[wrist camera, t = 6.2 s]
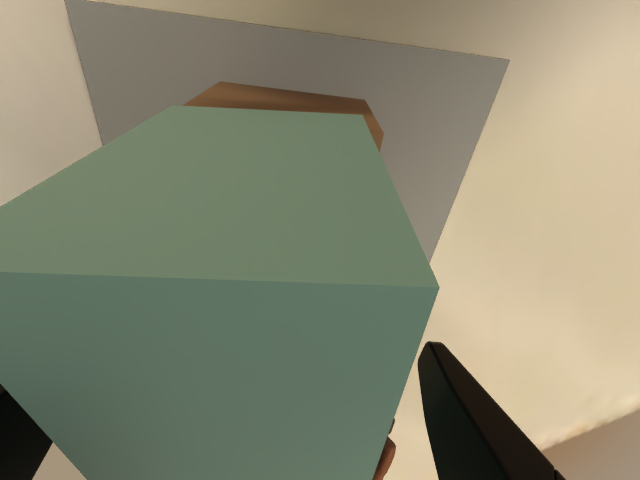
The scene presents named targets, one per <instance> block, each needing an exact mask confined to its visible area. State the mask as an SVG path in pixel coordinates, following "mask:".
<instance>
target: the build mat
mask: <svg viewBox="0 0 640 480" xmlns="http://www.w3.org/2000/svg"><path fill="white" fill-rule="evenodd" d="M64 1H65V5H66V8H67V12H68V16H69V20H70V23H71V27H72V31H73V35H74V38H75V42H76V46H77V50H78V53H79V57H80V61H81V64H82V68H83V72H84V76H85V79H86V83H87V87H88V91H89V94H90V98H91V102H92V106H93V109H94V113H95V117H96V121H97V124H98V128H99V132H100V136H101V139H102V143H103V146H104V145H106V144H108V143H109V142H111V141H113V140H114V139H116V138H118V137H119V136H121V135H123V134H124V133H126V132H128V131H130V130H131V129H133V128H135V127H136V126H138V125H140V124H141V123H143V122H145V121H146V120H148V119H150V118H152V117H153V116H155V115H157V114H158V113H160V112H162V111H163V110H165V109H167V108H168V107H170V106H172V105H177V106H182V105H184V104H185V103H187V102H188V101H190V100H191V99H193V98H195V97H196V96H198V95H199V94H201V93H202V92H204V91H206V90H207V89H209V88H210V87H212V86H213V85H215V84H217V83H218V82H220V81H221V82H229V83H237V84H245V85H253V86H261V87H269V88H276V89H284V90H292V91H300V92H308V93H316V94H324V95H332V96H340V97H348V98H355V99H363V100H365V101H366V102H367V104H368V106H369V108H370V109H371V111H372V113H373V115H374V117H375V118H376V120H377V122H378V124H379V125H380V127H381V129H382V131H383V132H384V136H383V140H382V144H381V149H380V155H381V157H382V160H383V162H384V164H385V166H386V169H387V171H388V173H389V175H390V178H391V180H392V182H393V184H394V186H395V189H396V191H397V193H398V195H399V198H400V200H401V202H402V204H403V207H404V209H405V211H406V213H407V216H408V218H409V220H410V222H411V224H412V227H413V229H414V231H415V233H416V236H417V238H418V240H419V242H420V245H421V247H422V249H423V251H424V253H425V256H426V258H427V260H428V262H429V263H430V261H431V258H432V256H433V253H434V251H435V248H436V245H437V243H438V240H439V238H440V235H441V233H442V230H443V228H444V225H445V223H446V220H447V218H448V215H449V213H450V210H451V208H452V205H453V203H454V200H455V198H456V195H457V193H458V190H459V187H460V185H461V182H462V180H463V177H464V175H465V172H466V170H467V167H468V165H469V162H470V160H471V157H472V155H473V152H474V150H475V147H476V145H477V142H478V140H479V137H480V135H481V132H482V129H483V127H484V124H485V122H486V119H487V117H488V114H489V112H490V109H491V107H492V104H493V102H494V99H495V97H496V94H497V92H498V89H499V87H500V84H501V82H502V79H503V77H504V74H505V71H506V69H507V66H508V64H509V61H510V60H507V59H502V58H494V57H487V56H480V55H473V54H466V53H459V52H451V51H444V50H437V49H430V48H423V47H416V46H408V45H401V44H394V43H387V42H380V41H372V40H365V39H358V38H351V37H344V36H337V35H329V34H322V33H315V32H308V31H301V30H294V29H286V28H279V27H272V26H265V25H258V24H251V23H243V22H236V21H229V20H222V19H215V18H208V17H200V16H193V15H186V14H179V13H172V12H165V11H157V10H150V9H143V8H136V7H129V6H122V5H114V4H107V3H100V2H93V1H86V0H64Z"/></svg>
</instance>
